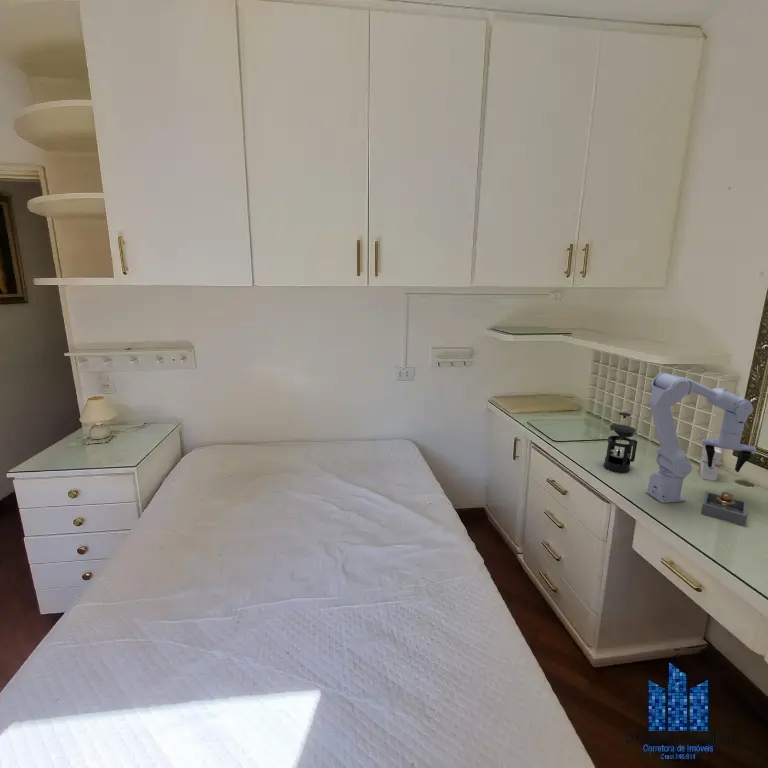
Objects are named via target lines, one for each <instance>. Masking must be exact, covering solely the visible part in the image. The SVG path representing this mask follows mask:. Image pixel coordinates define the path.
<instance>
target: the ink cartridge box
mask: <svg viewBox="0 0 768 768" xmlns="http://www.w3.org/2000/svg"><path fill="white" fill-rule="evenodd" d="M714 448H715V449H714V450H715V453H714V456H713V460H712V466H711V467H709V466H708V457H707V452H706V449H705V446H702V453H701V457H700V461H699V466H698V472H699V475H700V478H701V479H703V480H708V481H714V482H716V481H717V478H718V473H719V470H720V465H721V461H722V455H723V449H724V448H718V447H714Z"/></svg>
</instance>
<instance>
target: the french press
mask: <svg viewBox="0 0 768 768" xmlns="http://www.w3.org/2000/svg"><path fill="white" fill-rule="evenodd" d="M618 415H620V416H622V419H623V420H622V424H621V423H620V424H619V423H618V424H616V423H615V424H610V425H609V428H610V431H614V432H615V433H616V434H617V435H610V436H608V437H607V449H606V456H605V457H604V461H603V462H604V463H603V467H604V469H606V470H608V471H609V472H612V473H618V474H627V473H630V472H631V469H630V467H631V462H632V463H633V462H635V457H636V452H637V447H638V446H637V445H638V440H636V439H633V438H632V437H634V436H635V433H636V431H637V430H636V428H635V427H632V426H629V425H626V424H625V420H626V419H627V417H631V416H632V414H631V413H628V412H626V411H625V412H622V411H620V412H618ZM617 440H619V442H617ZM622 441H625V442H628V443H625V444H624V443H622ZM615 447H618V448H615ZM621 448H624V449H621Z"/></svg>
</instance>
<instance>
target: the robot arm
mask: <svg viewBox="0 0 768 768" xmlns="http://www.w3.org/2000/svg"><path fill="white" fill-rule="evenodd" d="M650 386H651V394H650V397H649V398H650V399H649V407H650V411H651V415H652V418H653V423H654V428H655V431H656V435H657V440H658V443H659V448H657V449H656V463H657V465H658V471H657V472H656V473H652V474H651V475H650V476H649V480H648V481H649V482H648V486H647V490H645V493H647V494H648V495H650V496H651V497H652V498H654V499H656V500H657V501H658V502H660V503H662V504H665V503H675V502H677V503H679V502H686V501H687V499H686V498H685V497H683V496H682V495H681V494H682V489H683V484H684V479H685V478H686V477H687V476H689V475H690V473H691V472H692V468H693V466H692V464H691V462H690V461H689V460H688V458H687V455H686V454H685V453H684V452H683V450H682V449H681V446H680V443H679V438H678V435H677V430H676V425H675V423H674V418H673V414H672V409H671V407H673V406H675V405H677V403H678V402H680V401H681V400H682V399H684V398H685V397H686V396H687V395H692V393H694V394H696V395H698V396H701V397H703V398H706V402H707V403H708V404H710V405H712V406H713V407H714V406H715V407H717V408H719V409H721V410H723V411H724V413H723V418H722V424H721V427H720V430H719V431H720V432H719V437H718V439H708V438H702V439H701V443H700V444H701V446H702V447H703V446H705V449H706V452H707V457H708V466H709V467H711V466H712V460H713V456H714V453H715V450H714V449H715V448H714V447H718V448H723V449H725V450H732V451H738V452H737V453H738V455H737V458H736V459H737V460H736V463H735V467H734V470H735V472H736V473H739V472H740V470H741V469H742V467H743V466H744V465H745V463H747V461H749V460H750V459H751V458H752V454H753V455H755V454H756V453H757V448H756V446H753V445H748V444H744V443H741V440H742V436H743V432H744V428H745V423H746V421H747V420H748V417H749V416H750V415H751V414H752V413H753V411H754V407H753V404H752V402H751V401H750V400H748V399H746V398H743V397H740V395H739V394H737V393H735V392H734V393H731V392H730V391H728V389H727V388H724V387H721V388H720V387H714V388H711V387H710V388H709V387H708V386H706V385H704V384H701V382H697V381H695V380H692V379H690V378H686V377H683V376H680V375H679V376H678V375H676V374H670V373H668V372H660V373H657V374H656V375H655V376H654V378H653V379H652V381H651V382H650Z"/></svg>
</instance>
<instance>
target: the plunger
mask: <svg viewBox="0 0 768 768" xmlns="http://www.w3.org/2000/svg"><path fill="white" fill-rule="evenodd" d="M720 495H721V496H718V497H717V498H716V500H717V501H718V502H720V503H722V505H721V504H717V503H713V502H710V504H709V505H712V506H716V507H720V508H723V509H727V510H730V511H734V512H737V513H738V511H739V509H735V508H732V507H728V506H727V505H735V501H734V500H732V498H733V497H734V495H733V494H732V493H729V492H727V491H722V492H720Z"/></svg>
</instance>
